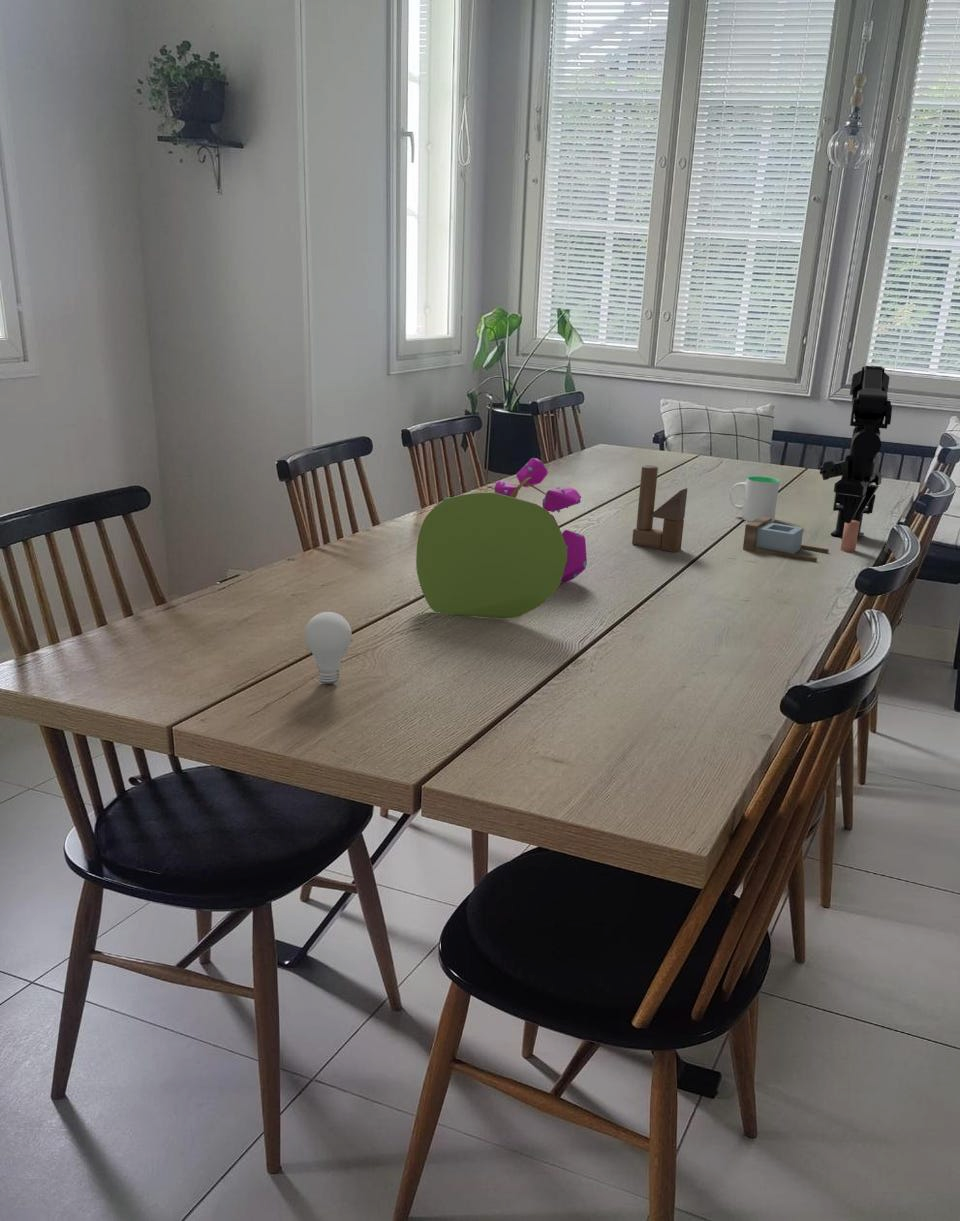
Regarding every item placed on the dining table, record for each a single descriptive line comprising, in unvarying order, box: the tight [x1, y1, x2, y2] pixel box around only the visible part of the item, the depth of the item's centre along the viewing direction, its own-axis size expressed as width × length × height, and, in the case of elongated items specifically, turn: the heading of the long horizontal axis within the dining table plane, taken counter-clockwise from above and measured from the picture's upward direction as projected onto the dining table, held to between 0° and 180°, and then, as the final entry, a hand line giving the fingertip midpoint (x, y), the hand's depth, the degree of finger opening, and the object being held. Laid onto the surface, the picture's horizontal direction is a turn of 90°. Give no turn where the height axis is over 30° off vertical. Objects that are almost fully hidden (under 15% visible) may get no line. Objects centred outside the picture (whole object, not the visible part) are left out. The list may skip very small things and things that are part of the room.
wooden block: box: [631, 464, 688, 553], centre depth 226 cm, size 4×11×18 cm, turn 56°
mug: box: [729, 475, 780, 523], centre depth 259 cm, size 12×8×10 cm, turn 64°
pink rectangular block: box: [840, 520, 860, 553], centre depth 230 cm, size 3×3×7 cm
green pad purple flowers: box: [415, 457, 588, 619], centre depth 191 cm, size 30×28×35 cm
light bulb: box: [304, 611, 352, 685], centre depth 145 cm, size 7×7×11 cm
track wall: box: [742, 516, 830, 563], centre depth 228 cm, size 11×16×6 cm
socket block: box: [756, 522, 805, 554], centre depth 229 cm, size 8×8×5 cm
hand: (852, 519), depth 229 cm, fingers open, 9 cm apart
